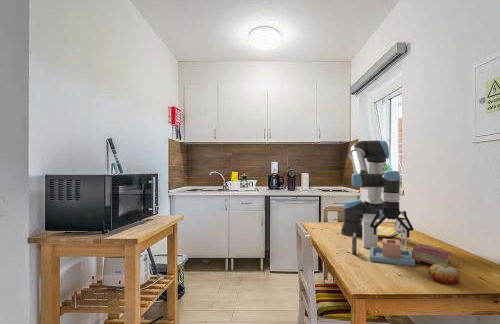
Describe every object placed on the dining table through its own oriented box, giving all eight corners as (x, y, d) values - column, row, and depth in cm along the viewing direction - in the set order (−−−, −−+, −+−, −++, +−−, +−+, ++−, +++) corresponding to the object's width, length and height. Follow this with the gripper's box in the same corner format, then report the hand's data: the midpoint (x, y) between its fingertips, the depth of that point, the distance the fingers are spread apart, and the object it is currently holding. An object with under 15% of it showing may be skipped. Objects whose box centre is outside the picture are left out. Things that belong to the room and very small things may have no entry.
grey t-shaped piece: (352, 252, 173) (352, 232, 173) (356, 253, 172) (356, 233, 172) (351, 255, 168) (351, 234, 168) (356, 255, 167) (356, 235, 167)
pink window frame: (400, 262, 154) (400, 246, 154) (382, 260, 157) (382, 244, 157) (399, 255, 167) (399, 239, 167) (382, 253, 170) (382, 238, 170)
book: (416, 252, 167) (417, 243, 166) (450, 262, 157) (451, 252, 157) (409, 257, 155) (411, 247, 155) (445, 268, 146) (447, 257, 146)
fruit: (423, 278, 133) (425, 259, 135) (435, 281, 139) (437, 262, 141) (452, 286, 124) (454, 265, 126) (463, 288, 130) (465, 268, 131)
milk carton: (377, 248, 182) (377, 215, 182) (364, 247, 183) (364, 214, 183) (374, 245, 189) (375, 213, 189) (362, 244, 190) (362, 212, 190)
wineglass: (391, 251, 177) (392, 218, 177) (397, 248, 183) (397, 216, 183) (407, 254, 171) (407, 220, 171) (412, 251, 177) (412, 218, 177)
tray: (370, 251, 176) (370, 246, 176) (411, 255, 169) (411, 250, 169) (369, 261, 158) (369, 256, 158) (415, 266, 150) (415, 261, 150)
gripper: (365, 200, 165) (364, 241, 165) (419, 203, 155) (419, 246, 156) (365, 198, 172) (365, 238, 172) (418, 201, 162) (417, 243, 163)
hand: (391, 242), depth 164 cm, fingers open, 13 cm apart
